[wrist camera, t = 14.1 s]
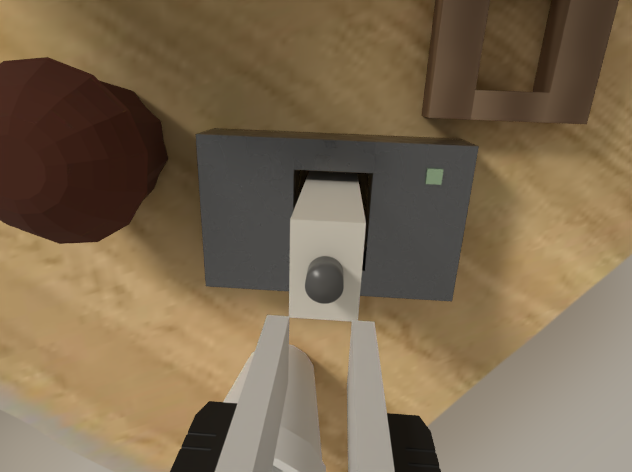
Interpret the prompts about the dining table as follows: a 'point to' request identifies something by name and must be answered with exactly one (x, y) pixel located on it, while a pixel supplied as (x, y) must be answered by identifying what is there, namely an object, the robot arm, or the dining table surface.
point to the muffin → (73, 152)
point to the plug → (327, 248)
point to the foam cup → (293, 416)
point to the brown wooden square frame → (552, 73)
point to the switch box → (381, 212)
